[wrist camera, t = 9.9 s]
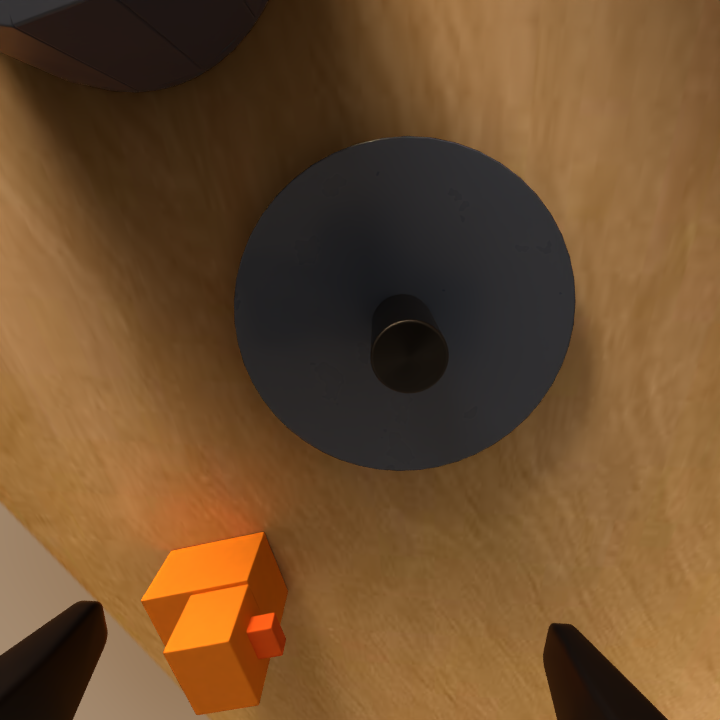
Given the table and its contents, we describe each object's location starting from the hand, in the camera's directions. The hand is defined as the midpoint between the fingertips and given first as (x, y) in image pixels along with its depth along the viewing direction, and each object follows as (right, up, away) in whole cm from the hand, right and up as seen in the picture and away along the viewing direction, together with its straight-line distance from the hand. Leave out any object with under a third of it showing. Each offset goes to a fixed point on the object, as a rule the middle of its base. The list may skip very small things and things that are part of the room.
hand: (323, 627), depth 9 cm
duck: (-6, -6, +15) cm, 17 cm away
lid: (+2, +7, +10) cm, 12 cm away
